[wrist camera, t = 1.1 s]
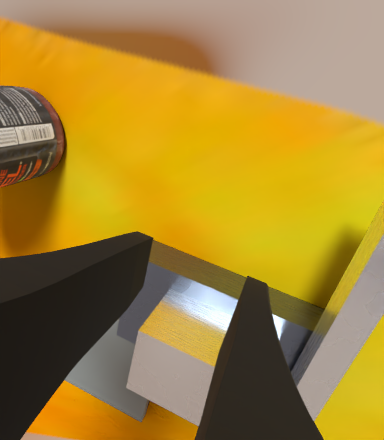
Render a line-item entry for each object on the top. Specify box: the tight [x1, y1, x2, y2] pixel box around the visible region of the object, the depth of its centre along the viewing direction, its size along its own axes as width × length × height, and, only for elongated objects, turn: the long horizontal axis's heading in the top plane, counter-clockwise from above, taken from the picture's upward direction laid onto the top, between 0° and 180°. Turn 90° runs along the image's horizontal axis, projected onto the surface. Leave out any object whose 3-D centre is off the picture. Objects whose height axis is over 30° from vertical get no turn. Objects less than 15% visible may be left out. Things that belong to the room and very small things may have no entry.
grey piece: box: [117, 240, 325, 372], centre depth 21 cm, size 13×7×2 cm, turn 76°
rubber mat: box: [65, 319, 149, 422], centre depth 27 cm, size 10×10×1 cm
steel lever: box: [291, 201, 384, 421], centre depth 18 cm, size 2×18×5 cm, turn 166°
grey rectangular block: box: [126, 289, 280, 426], centre depth 18 cm, size 7×4×4 cm, turn 76°
